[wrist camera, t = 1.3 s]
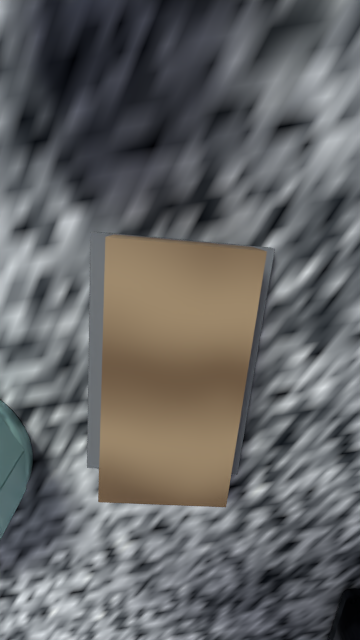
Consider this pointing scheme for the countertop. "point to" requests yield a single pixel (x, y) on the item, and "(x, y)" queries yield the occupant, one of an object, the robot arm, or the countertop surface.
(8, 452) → the bowl
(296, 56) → the countertop surface
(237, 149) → the countertop surface
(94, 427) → the mat
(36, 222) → the countertop surface
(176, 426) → the tan wooden plank
